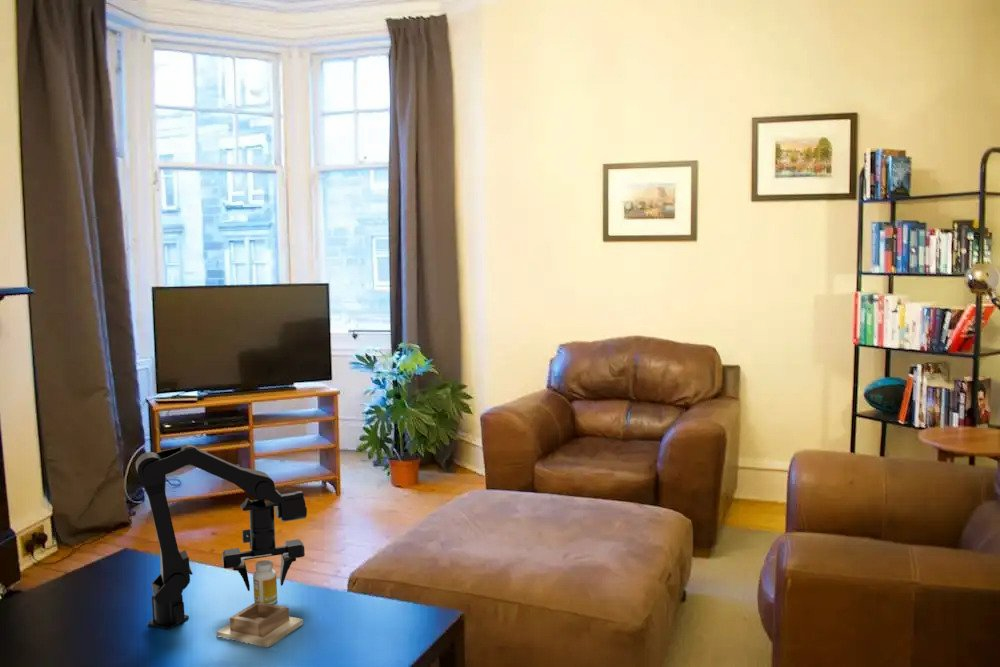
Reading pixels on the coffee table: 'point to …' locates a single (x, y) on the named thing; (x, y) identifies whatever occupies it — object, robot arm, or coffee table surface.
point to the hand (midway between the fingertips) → (265, 587)
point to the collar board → (260, 624)
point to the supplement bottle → (265, 582)
